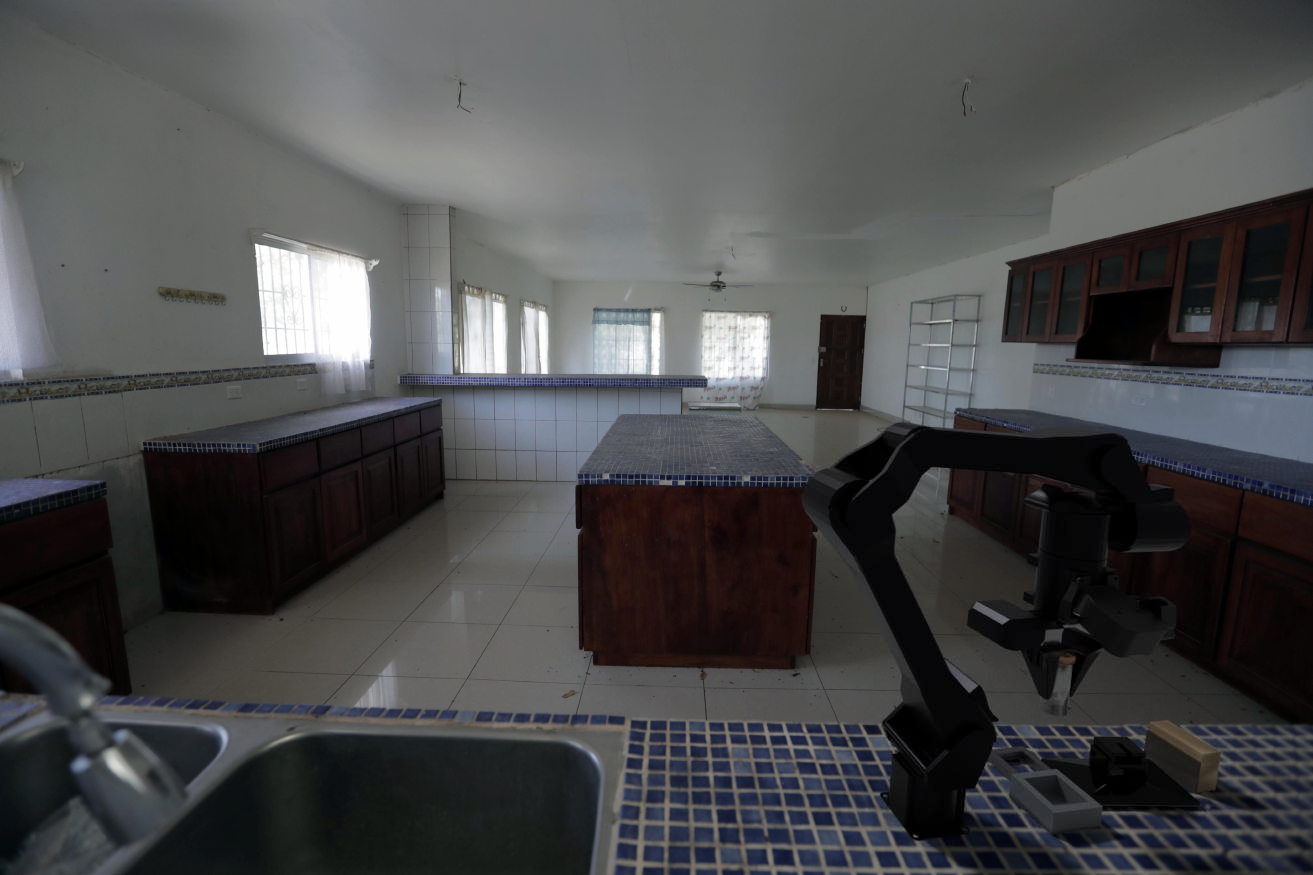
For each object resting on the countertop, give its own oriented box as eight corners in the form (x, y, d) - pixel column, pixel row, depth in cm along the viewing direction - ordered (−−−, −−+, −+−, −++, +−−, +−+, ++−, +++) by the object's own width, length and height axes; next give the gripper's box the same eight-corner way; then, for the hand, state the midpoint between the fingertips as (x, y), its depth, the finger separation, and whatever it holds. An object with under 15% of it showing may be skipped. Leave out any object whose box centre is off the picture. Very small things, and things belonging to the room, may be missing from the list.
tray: (1051, 835, 59) (1054, 812, 58) (1009, 795, 64) (1011, 773, 64) (1099, 829, 60) (1102, 806, 59) (1054, 789, 65) (1056, 768, 65)
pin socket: (1017, 787, 65) (1018, 779, 65) (985, 757, 70) (986, 749, 70) (1056, 782, 66) (1057, 774, 66) (1022, 753, 71) (1023, 745, 71)
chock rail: (1194, 796, 64) (1200, 754, 64) (1142, 761, 70) (1147, 721, 70) (1214, 793, 65) (1220, 751, 64) (1161, 758, 71) (1167, 719, 70)
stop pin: (1054, 719, 61) (1061, 657, 60) (1031, 703, 63) (1037, 644, 62) (1076, 715, 61) (1083, 654, 60) (1052, 700, 64) (1059, 641, 63)
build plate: (1079, 806, 62) (1082, 766, 62) (1038, 760, 70) (1040, 723, 69) (1201, 806, 62) (1205, 765, 61) (1147, 759, 69) (1150, 722, 69)
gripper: (1065, 587, 50) (1045, 757, 52) (1235, 575, 54) (1210, 733, 56) (970, 546, 61) (956, 688, 63) (1117, 539, 65) (1100, 673, 67)
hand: (1055, 696), depth 62 cm, fingers closed on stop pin, 2 cm apart
